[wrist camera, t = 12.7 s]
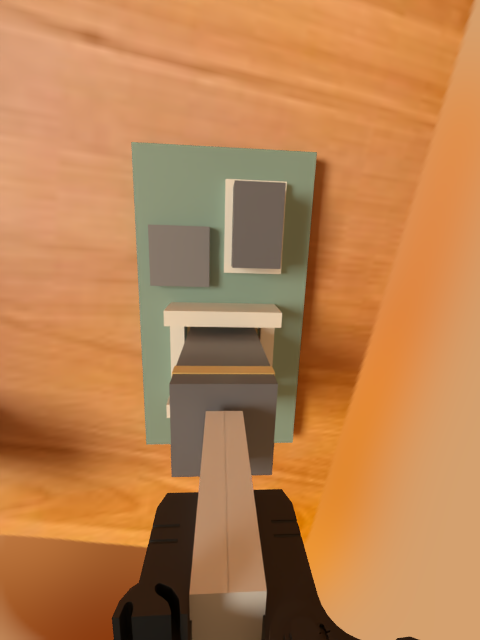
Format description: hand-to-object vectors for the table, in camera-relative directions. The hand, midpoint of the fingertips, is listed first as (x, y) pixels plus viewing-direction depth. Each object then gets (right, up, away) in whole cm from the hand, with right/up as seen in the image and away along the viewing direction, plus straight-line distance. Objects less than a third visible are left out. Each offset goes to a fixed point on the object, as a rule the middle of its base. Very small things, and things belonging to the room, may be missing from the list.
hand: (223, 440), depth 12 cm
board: (-1, +6, +11) cm, 12 cm away
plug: (-1, +3, +10) cm, 11 cm away
